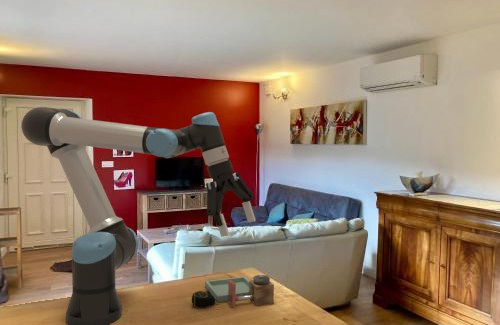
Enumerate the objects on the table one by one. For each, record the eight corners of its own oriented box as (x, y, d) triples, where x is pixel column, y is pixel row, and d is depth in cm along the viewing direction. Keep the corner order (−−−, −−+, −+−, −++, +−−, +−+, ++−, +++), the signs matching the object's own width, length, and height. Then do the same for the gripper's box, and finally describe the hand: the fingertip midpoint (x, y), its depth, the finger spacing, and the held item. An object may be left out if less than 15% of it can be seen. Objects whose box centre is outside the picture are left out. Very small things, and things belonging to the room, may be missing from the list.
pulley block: (256, 306, 130) (256, 279, 129) (249, 299, 135) (249, 274, 135) (273, 303, 132) (274, 277, 132) (265, 297, 138) (266, 272, 137)
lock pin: (232, 306, 128) (232, 284, 128) (228, 302, 132) (228, 280, 131) (272, 301, 133) (272, 279, 133) (267, 296, 137) (267, 275, 136)
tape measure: (215, 308, 128) (216, 296, 128) (193, 311, 126) (193, 299, 126) (211, 300, 134) (211, 289, 134) (189, 302, 132) (190, 291, 132)
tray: (217, 303, 132) (217, 296, 132) (204, 287, 146) (204, 281, 146) (261, 297, 138) (261, 290, 137) (244, 282, 151) (244, 276, 151)
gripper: (199, 168, 115) (222, 241, 116) (250, 152, 135) (270, 214, 136) (181, 174, 120) (203, 244, 120) (233, 157, 140) (253, 217, 140)
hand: (239, 228), depth 128 cm, fingers open, 13 cm apart
